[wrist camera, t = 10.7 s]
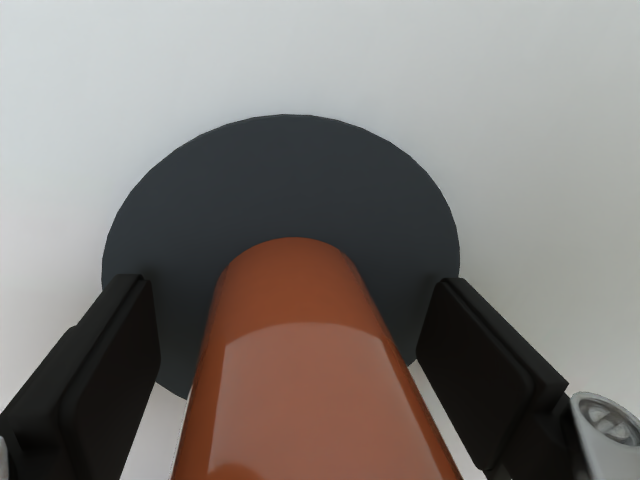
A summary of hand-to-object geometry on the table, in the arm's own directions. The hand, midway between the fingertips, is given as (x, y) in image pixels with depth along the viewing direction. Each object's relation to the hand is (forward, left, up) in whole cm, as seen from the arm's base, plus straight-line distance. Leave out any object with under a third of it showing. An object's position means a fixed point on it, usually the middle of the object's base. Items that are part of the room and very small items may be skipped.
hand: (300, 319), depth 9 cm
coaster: (0, 0, -1) cm, 1 cm away
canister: (0, 0, -1) cm, 1 cm away
